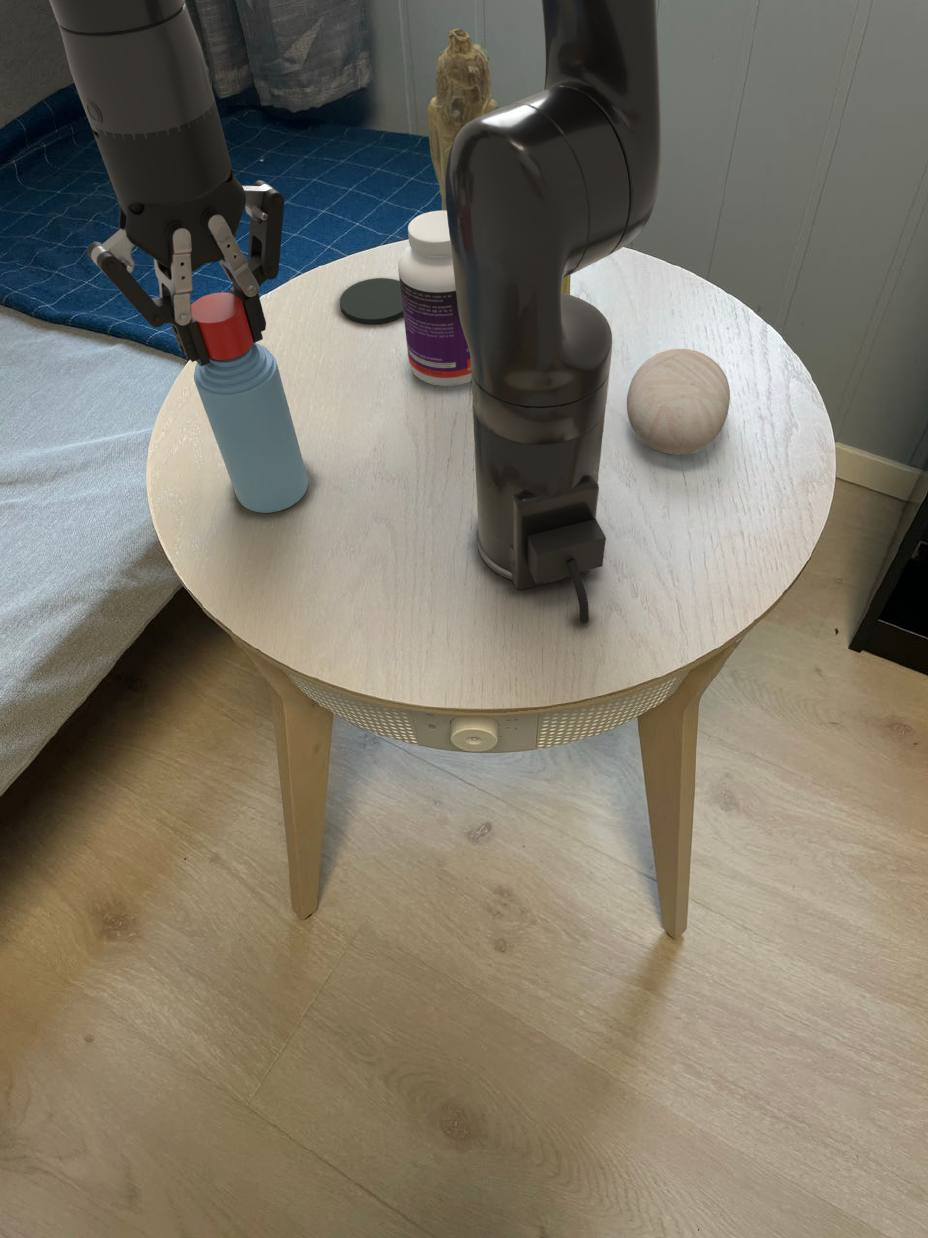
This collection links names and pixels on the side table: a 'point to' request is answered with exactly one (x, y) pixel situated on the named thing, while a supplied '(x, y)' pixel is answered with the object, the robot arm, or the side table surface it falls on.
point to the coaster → (373, 301)
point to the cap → (222, 325)
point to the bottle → (253, 429)
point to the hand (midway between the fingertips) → (226, 347)
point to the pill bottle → (432, 304)
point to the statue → (457, 98)
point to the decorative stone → (678, 401)
